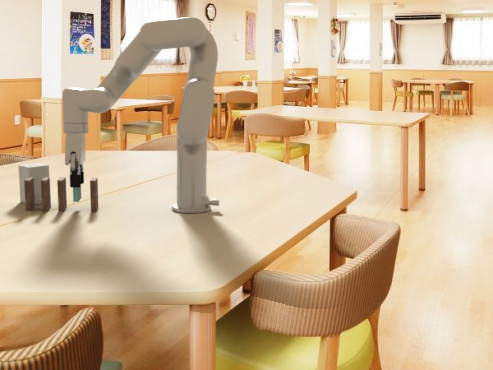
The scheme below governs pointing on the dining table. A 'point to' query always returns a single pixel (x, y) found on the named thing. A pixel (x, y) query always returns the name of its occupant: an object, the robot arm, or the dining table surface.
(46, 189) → the domino
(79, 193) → the domino
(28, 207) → the domino
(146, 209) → the dining table surface
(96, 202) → the domino
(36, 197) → the supplement box
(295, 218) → the dining table surface
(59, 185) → the domino
